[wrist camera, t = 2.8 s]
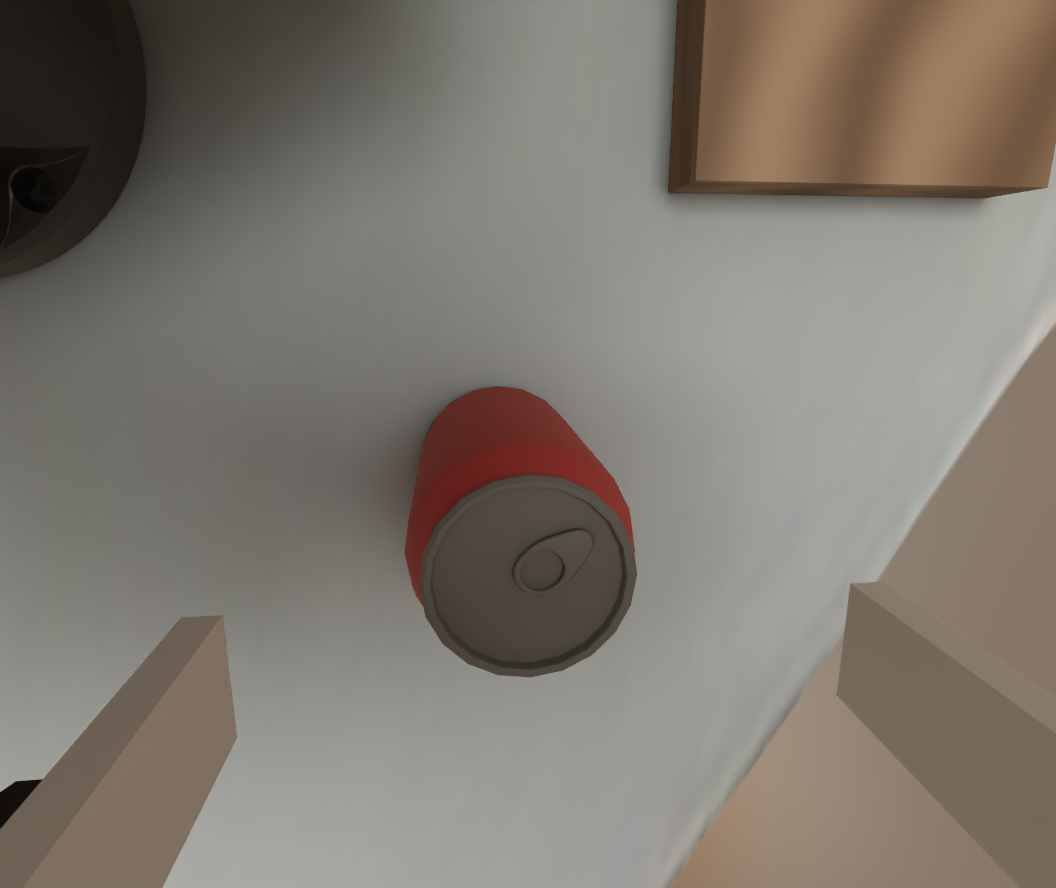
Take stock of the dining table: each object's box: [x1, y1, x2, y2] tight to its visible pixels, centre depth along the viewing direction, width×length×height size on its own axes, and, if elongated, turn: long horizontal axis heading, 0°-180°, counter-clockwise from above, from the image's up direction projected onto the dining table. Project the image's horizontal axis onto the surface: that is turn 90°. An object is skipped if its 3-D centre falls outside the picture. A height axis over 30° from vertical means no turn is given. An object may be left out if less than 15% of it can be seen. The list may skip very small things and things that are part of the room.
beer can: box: [405, 387, 637, 677], centre depth 22 cm, size 7×7×12 cm
